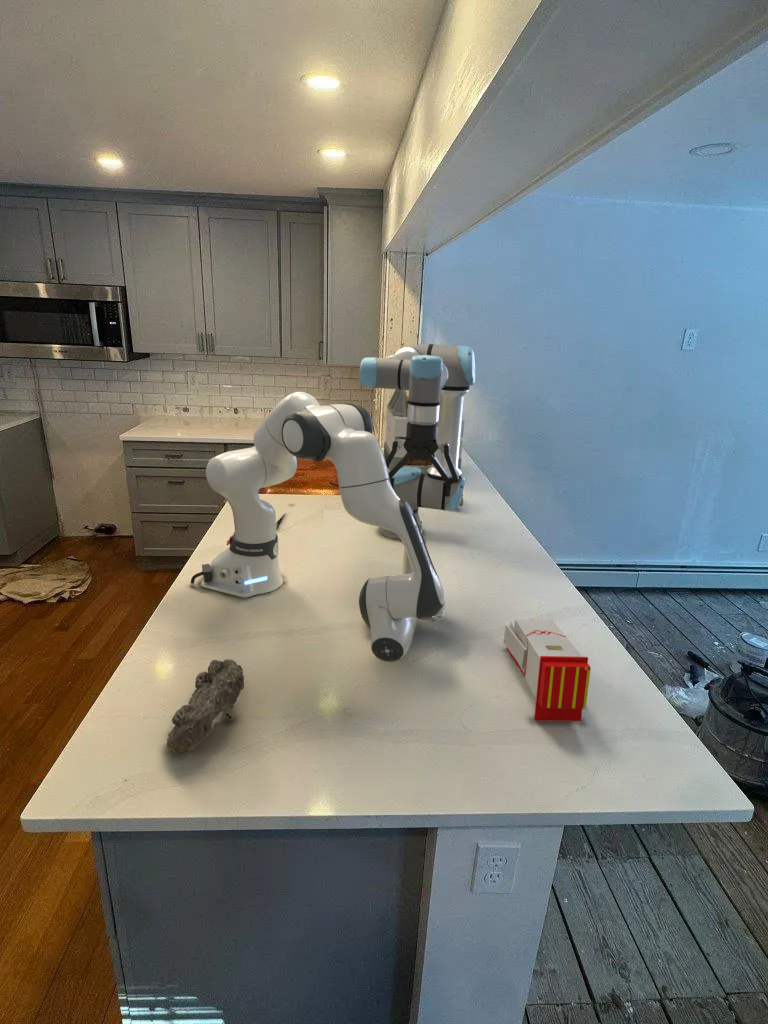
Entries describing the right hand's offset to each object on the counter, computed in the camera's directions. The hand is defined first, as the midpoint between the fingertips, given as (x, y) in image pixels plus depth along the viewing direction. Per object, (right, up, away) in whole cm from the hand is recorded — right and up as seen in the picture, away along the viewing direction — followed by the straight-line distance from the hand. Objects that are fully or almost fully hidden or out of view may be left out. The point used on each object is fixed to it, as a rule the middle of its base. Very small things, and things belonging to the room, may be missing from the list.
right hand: (416, 506), depth 144 cm
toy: (+25, -38, -20) cm, 50 cm away
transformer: (+9, +17, +131) cm, 133 cm away
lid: (0, -8, +3) cm, 9 cm away
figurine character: (+20, +1, +87) cm, 89 cm away
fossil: (-41, -41, -36) cm, 68 cm away
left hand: (-2, -22, +5) cm, 22 cm away
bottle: (-1, -26, +9) cm, 28 cm away
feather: (-46, -3, +67) cm, 81 cm away
